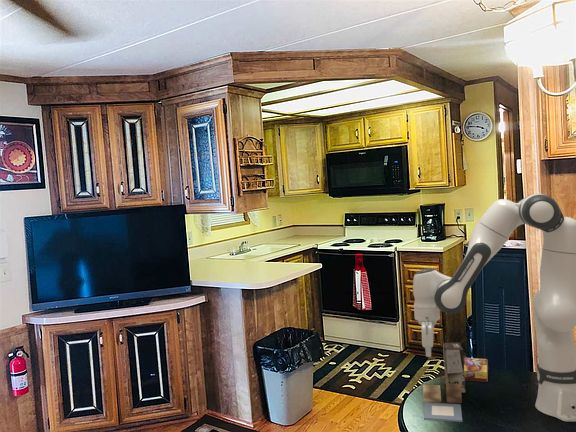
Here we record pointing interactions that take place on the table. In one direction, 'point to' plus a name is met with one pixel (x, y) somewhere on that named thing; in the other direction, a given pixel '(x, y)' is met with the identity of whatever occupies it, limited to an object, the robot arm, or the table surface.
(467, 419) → the table surface
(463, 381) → the coffee box
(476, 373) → the candy box
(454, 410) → the plate
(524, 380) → the table surface
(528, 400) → the table surface
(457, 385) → the walnut cube
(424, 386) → the oak block
